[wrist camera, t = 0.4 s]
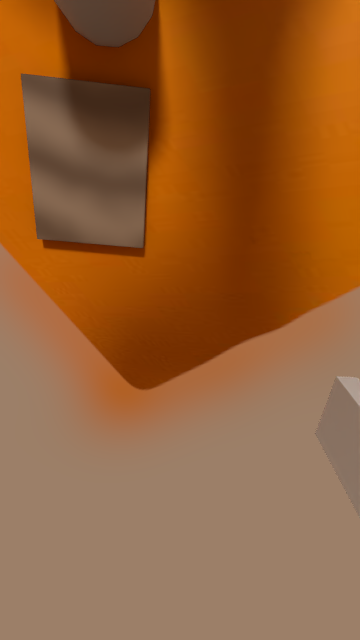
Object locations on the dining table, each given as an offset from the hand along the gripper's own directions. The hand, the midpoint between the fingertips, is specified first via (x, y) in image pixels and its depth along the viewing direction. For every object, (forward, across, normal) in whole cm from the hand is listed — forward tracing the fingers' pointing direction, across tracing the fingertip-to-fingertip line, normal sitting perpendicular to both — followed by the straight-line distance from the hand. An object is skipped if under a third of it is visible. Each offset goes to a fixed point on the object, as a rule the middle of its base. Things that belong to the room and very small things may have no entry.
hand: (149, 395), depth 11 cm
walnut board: (+26, -8, +6) cm, 28 cm away
